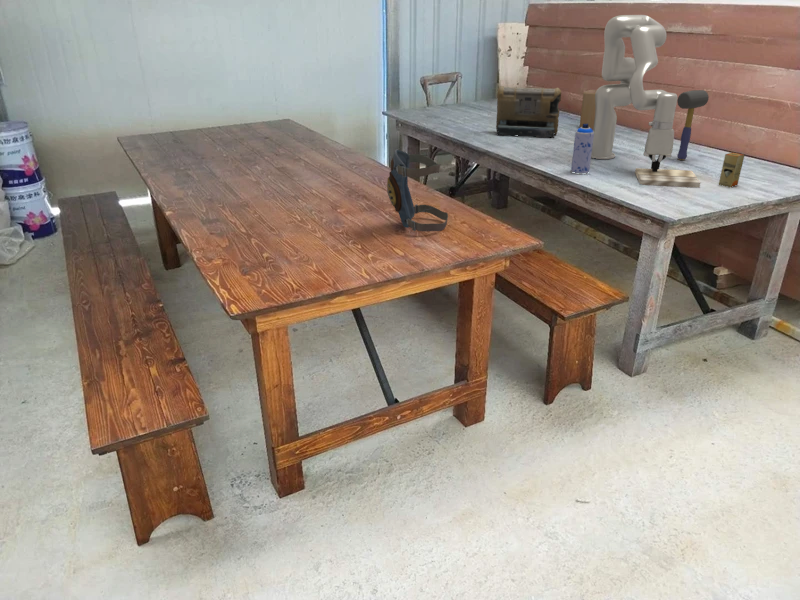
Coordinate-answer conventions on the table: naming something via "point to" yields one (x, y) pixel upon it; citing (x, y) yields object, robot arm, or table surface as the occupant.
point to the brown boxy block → (527, 111)
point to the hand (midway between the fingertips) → (654, 170)
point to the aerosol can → (582, 149)
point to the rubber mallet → (689, 115)
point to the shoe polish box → (731, 169)
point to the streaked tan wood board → (669, 180)
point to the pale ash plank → (664, 172)
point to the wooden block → (588, 109)
